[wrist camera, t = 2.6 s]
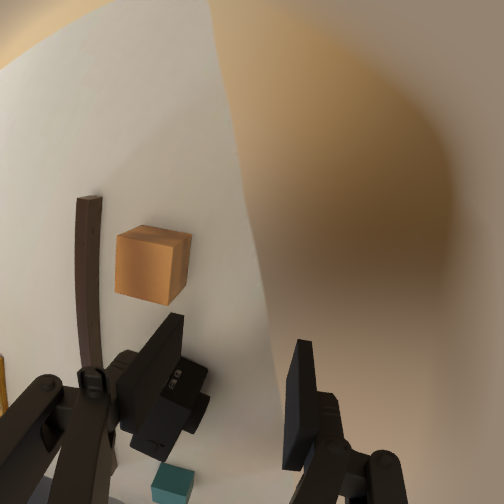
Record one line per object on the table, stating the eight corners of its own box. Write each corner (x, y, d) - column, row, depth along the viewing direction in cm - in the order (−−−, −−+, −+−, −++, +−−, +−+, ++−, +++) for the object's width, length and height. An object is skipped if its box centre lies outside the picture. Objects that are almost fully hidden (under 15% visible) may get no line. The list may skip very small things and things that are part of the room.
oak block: (192, 234, 29) (173, 247, 24) (185, 285, 30) (168, 306, 25) (142, 224, 29) (116, 235, 24) (138, 274, 30) (114, 292, 26)
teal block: (194, 471, 38) (186, 496, 33) (192, 487, 39) (185, 511, 34) (161, 462, 38) (150, 486, 33) (161, 478, 39) (152, 501, 34)
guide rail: (102, 197, 29) (88, 199, 26) (117, 466, 40) (111, 476, 37) (90, 195, 29) (76, 197, 27) (109, 462, 40) (103, 472, 38)
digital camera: (189, 428, 35) (174, 468, 28) (149, 409, 35) (128, 447, 28) (219, 373, 32) (204, 416, 26) (172, 351, 32) (148, 390, 25)
